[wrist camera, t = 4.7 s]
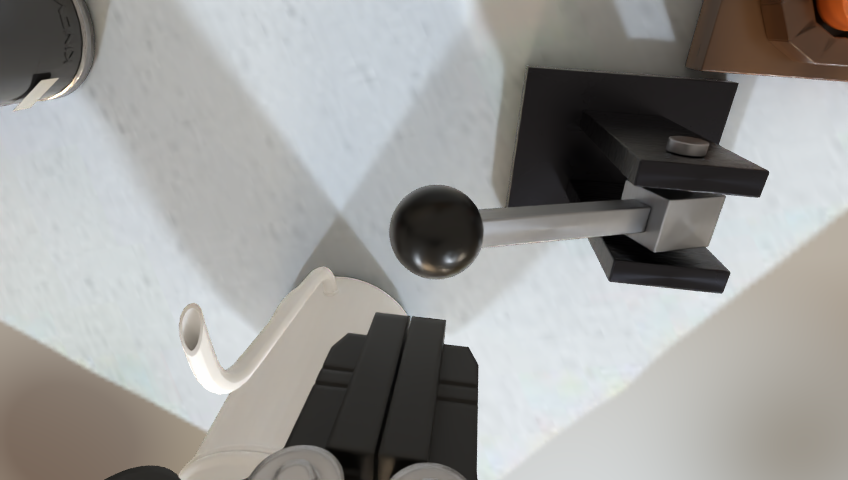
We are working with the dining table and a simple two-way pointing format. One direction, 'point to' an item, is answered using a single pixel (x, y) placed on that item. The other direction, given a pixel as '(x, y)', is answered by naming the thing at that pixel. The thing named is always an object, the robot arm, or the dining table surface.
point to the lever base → (629, 158)
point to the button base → (768, 40)
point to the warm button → (834, 13)
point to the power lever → (542, 224)
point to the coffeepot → (273, 369)
